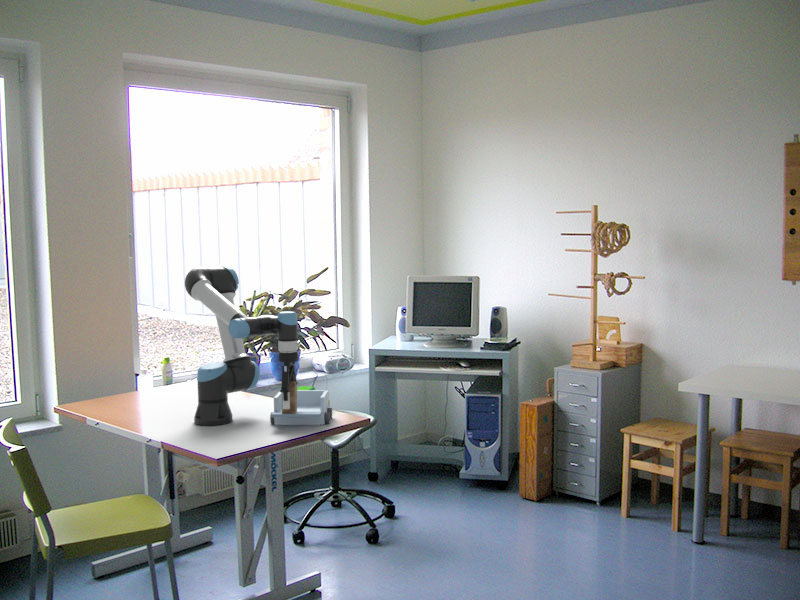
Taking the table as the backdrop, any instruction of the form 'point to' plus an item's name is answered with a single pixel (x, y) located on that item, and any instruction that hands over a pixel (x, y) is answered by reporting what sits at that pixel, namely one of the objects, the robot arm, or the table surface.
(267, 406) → the table surface
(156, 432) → the table surface
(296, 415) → the tailgate
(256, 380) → the robot arm
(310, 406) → the truck bed
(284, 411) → the brown wooden block
